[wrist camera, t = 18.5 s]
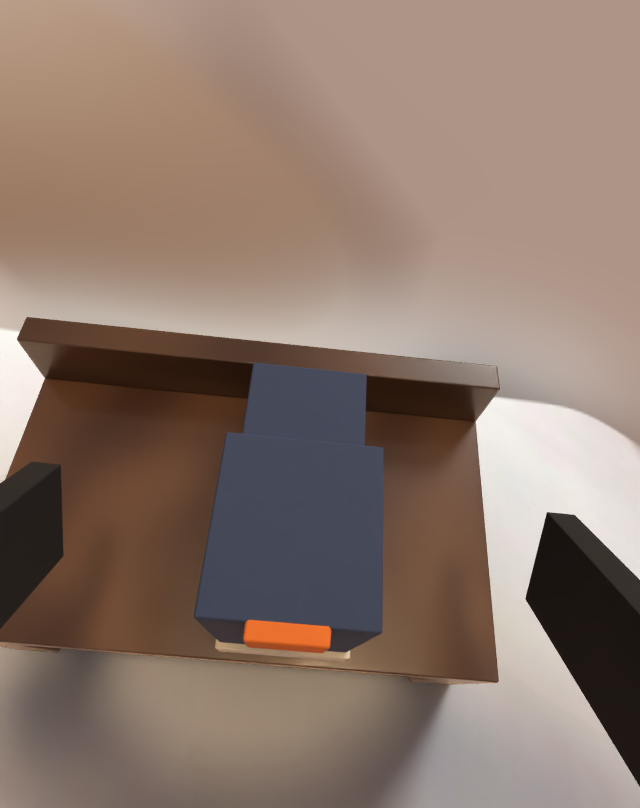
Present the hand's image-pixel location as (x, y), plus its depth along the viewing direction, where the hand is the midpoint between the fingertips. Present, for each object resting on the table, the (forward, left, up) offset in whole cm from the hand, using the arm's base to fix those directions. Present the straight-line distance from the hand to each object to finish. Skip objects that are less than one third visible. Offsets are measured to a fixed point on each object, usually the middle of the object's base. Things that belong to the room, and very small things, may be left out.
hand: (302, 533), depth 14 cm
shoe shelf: (+2, -3, -13) cm, 13 cm away
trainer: (0, -2, -7) cm, 7 cm away
